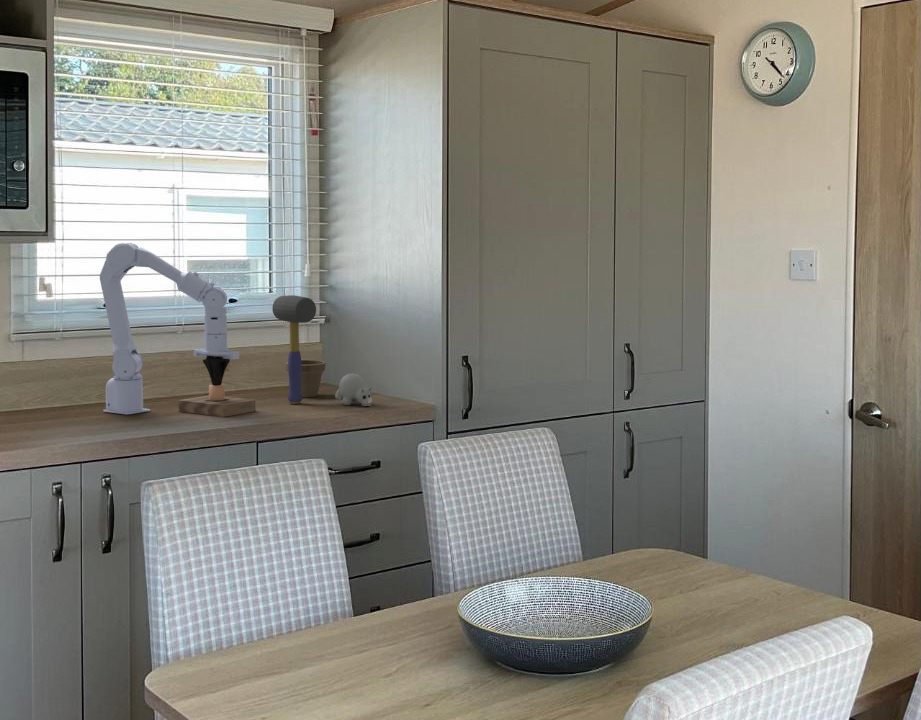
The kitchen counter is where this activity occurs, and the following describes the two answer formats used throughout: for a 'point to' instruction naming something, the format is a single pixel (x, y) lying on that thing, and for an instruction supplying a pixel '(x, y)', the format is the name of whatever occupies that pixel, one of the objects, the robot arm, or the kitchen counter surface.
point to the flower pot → (310, 376)
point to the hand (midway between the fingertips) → (216, 385)
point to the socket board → (217, 406)
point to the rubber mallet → (294, 336)
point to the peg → (216, 393)
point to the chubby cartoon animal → (353, 391)
